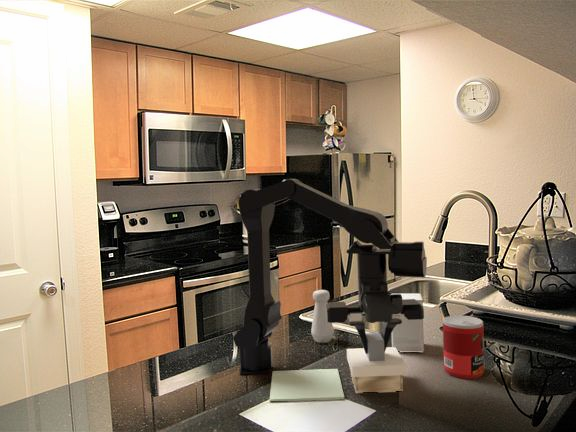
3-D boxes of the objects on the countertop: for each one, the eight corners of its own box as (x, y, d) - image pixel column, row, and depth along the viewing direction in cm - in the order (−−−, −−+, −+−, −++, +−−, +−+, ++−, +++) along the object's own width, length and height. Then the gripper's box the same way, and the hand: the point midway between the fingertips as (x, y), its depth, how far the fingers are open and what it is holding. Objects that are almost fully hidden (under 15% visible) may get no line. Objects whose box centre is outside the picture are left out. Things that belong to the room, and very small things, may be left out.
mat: (269, 402, 92) (269, 399, 92) (272, 373, 106) (272, 371, 106) (344, 399, 92) (344, 396, 92) (337, 371, 106) (337, 368, 106)
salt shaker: (308, 342, 125) (306, 292, 124) (315, 336, 130) (313, 287, 130) (330, 344, 123) (328, 293, 122) (336, 337, 128) (335, 288, 127)
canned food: (480, 382, 97) (479, 327, 96) (439, 375, 101) (438, 322, 100) (487, 368, 103) (486, 317, 103) (448, 362, 108) (447, 313, 107)
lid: (352, 377, 93) (351, 346, 93) (347, 358, 104) (345, 330, 103) (406, 375, 93) (405, 344, 93) (395, 356, 103) (394, 328, 103)
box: (356, 393, 94) (355, 370, 94) (350, 375, 103) (349, 354, 103) (403, 391, 94) (402, 368, 94) (393, 373, 103) (392, 352, 103)
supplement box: (424, 353, 114) (423, 300, 113) (392, 352, 116) (390, 299, 115) (422, 343, 121) (421, 292, 120) (391, 342, 123) (390, 292, 122)
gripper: (328, 286, 89) (331, 369, 90) (430, 282, 89) (432, 366, 90) (324, 274, 100) (327, 349, 101) (415, 271, 100) (417, 346, 101)
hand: (374, 352), depth 98 cm, fingers closed on lid, 3 cm apart
